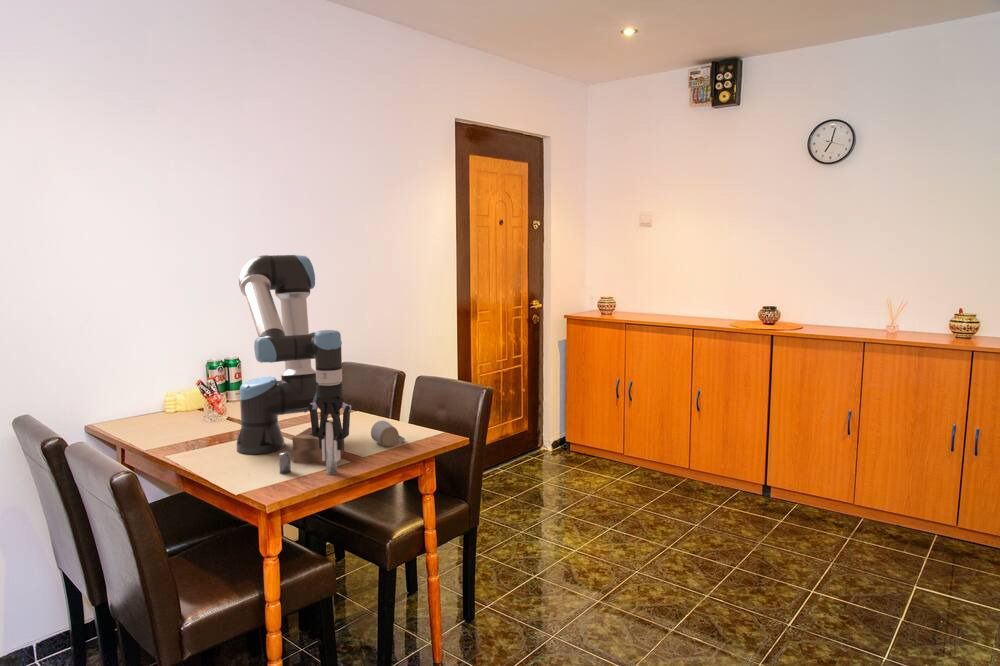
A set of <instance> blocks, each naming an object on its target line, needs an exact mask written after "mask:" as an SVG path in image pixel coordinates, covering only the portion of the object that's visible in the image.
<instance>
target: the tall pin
mask: <svg viewBox="0 0 1000 666" xmlns="http://www.w3.org/2000/svg"><path fill="white" fill-rule="evenodd" d="M335 439H336V434H335V429H334V423H333V419H327V420H326V421H325V444H326V464H325V466H326V467H325V468H326V469H325V471H326V472H325V474H326V475H327V476H328V475H329V476H333V475H336V474H338V461H337V462H334V440H335Z"/></svg>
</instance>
